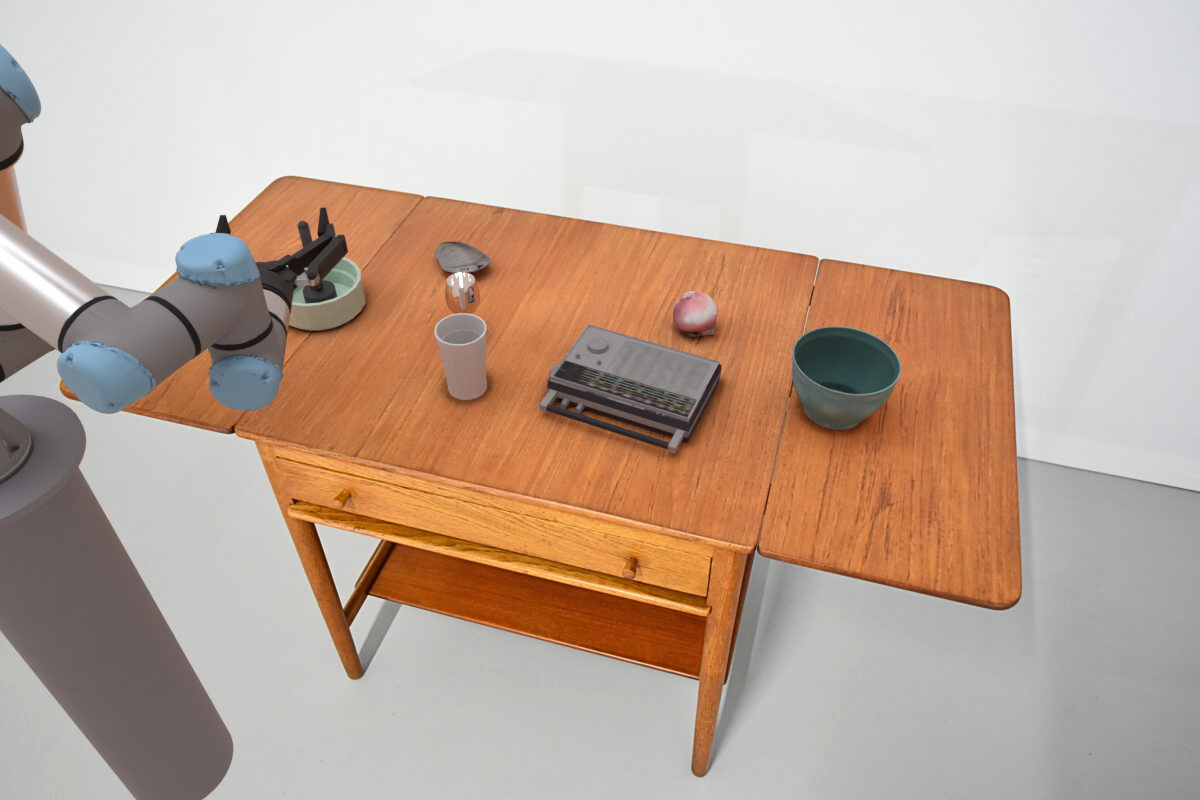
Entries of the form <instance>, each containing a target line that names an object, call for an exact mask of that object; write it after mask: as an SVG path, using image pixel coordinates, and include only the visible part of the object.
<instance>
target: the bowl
mask: <svg viewBox="0 0 1200 800" xmlns="http://www.w3.org/2000/svg"><path fill="white" fill-rule="evenodd" d="M287 267H288V265H287ZM302 274H303V273H302ZM362 274H363V273H362V271H361V269H360V267H359V265H358V264H357V263H356V262H354V261H353V260H351V259H350V258H348V257H346V256H344V257H343V258H342V259H341V260H340V261H339V263H338V264H337V265H336V266H335V267H334V268H333V269H332V270H331V271H330V272H329V273H328V274H327V276H326V277H325V278H324V279H323V280H326V281H330V282H332V283H333V284H334V285H335V289H336V293H337V297H336V298H334V299H331V300H327V301H323V302H320V303H308V304H306V303H305V299H304V295H303V289H304V287H305V286H298V287H297V288H296V289H295V290H294V292H293V300H292V307H291V314H290V320H289V326H290V327H294V328H296V329H298V330H303V331H310V332H312V331H313V332H315V331H316V332H317V331H326V330H331V329H335V328H338V327H340V326H343V325H345V324H347V323H348V322H350V321H352V320H353V319H354V318H355V317H356V316H357V315H359V313H360V312H361V311H362V310H363V308H364V307H365V305H366V300H367V299H366V298H367V294H366V288H365V285H364V279H363V275H362Z"/></svg>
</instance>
